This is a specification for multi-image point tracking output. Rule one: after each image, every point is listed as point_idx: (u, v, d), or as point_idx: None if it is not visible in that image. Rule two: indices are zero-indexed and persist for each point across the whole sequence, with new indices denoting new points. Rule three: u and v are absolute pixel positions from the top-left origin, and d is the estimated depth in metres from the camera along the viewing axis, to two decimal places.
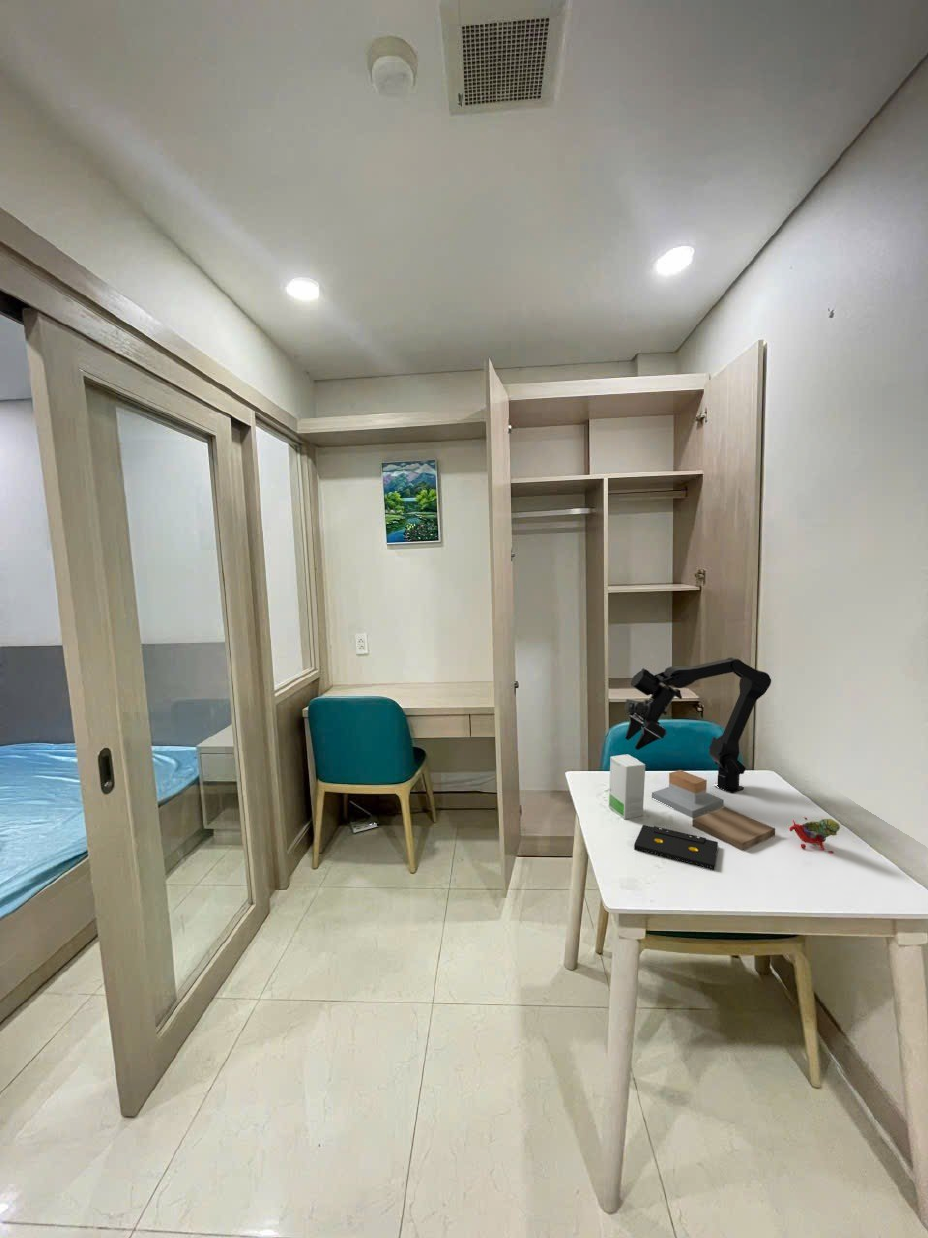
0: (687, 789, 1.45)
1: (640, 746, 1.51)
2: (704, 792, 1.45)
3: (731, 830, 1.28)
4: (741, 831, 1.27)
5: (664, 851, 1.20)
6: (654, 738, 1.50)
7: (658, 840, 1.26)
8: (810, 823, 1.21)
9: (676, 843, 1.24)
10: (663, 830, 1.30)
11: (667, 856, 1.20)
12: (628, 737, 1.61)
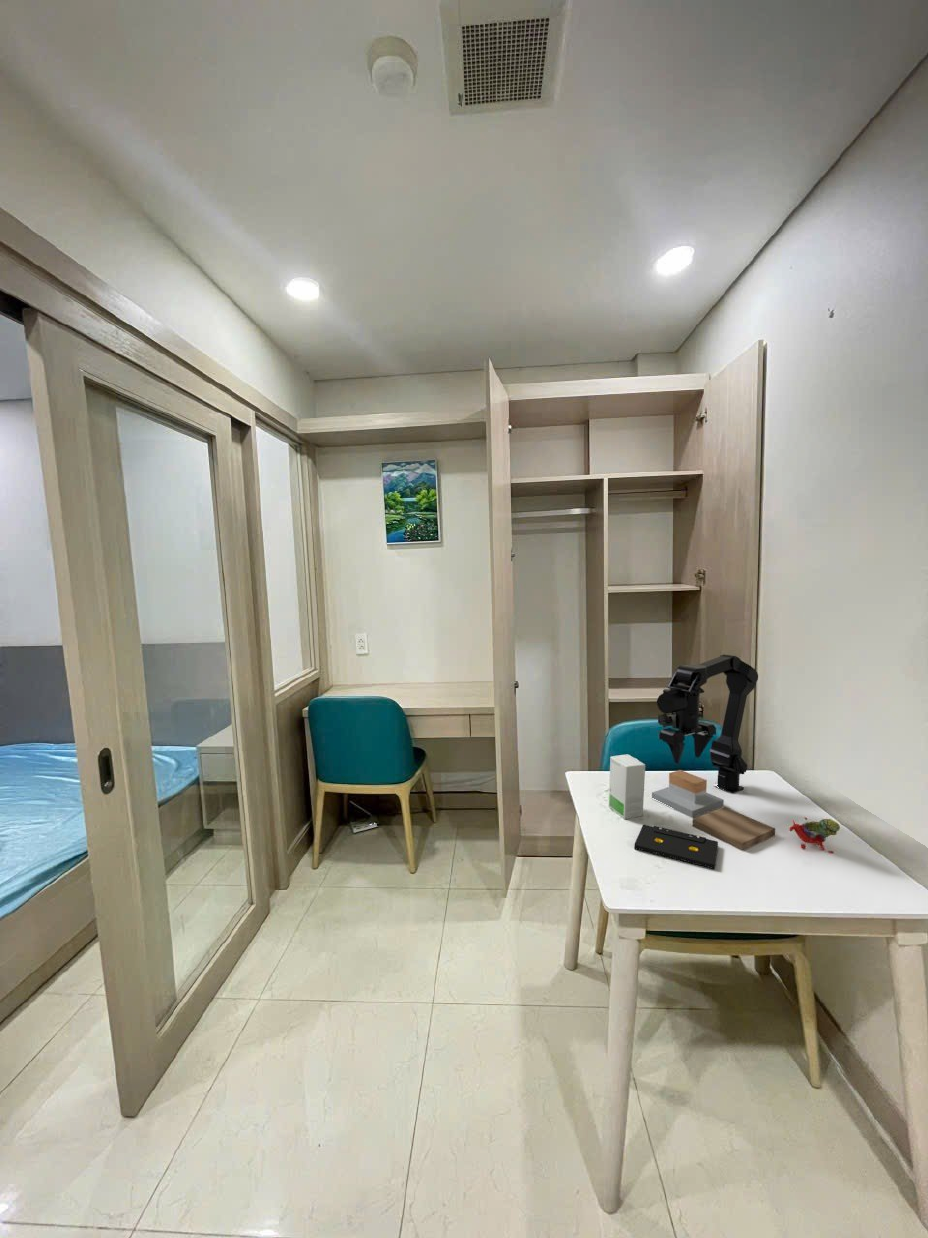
0: (687, 789, 1.45)
1: (676, 759, 1.45)
2: (704, 792, 1.45)
3: (731, 830, 1.28)
4: (741, 831, 1.27)
5: (665, 851, 1.20)
6: (678, 746, 1.42)
7: (658, 840, 1.26)
8: (810, 823, 1.21)
9: (676, 843, 1.24)
10: (663, 830, 1.30)
11: (667, 856, 1.20)
12: (697, 754, 1.49)
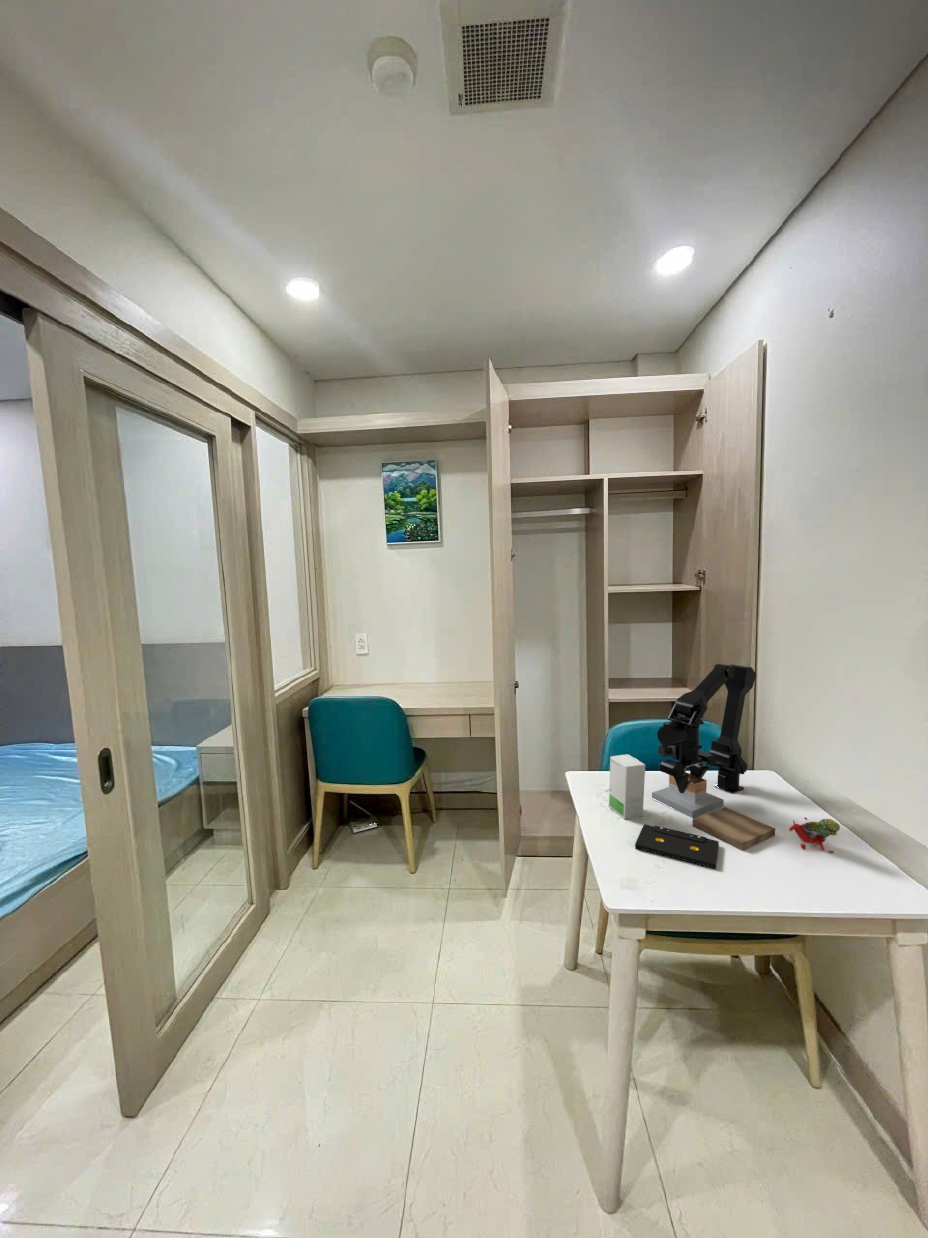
0: (687, 789, 1.45)
1: (681, 789, 1.46)
2: (704, 792, 1.45)
3: (731, 830, 1.28)
4: (741, 831, 1.27)
5: (665, 850, 1.21)
6: (682, 777, 1.44)
7: (659, 839, 1.26)
8: (810, 823, 1.21)
9: (677, 842, 1.24)
10: (664, 829, 1.30)
11: (668, 855, 1.20)
12: None
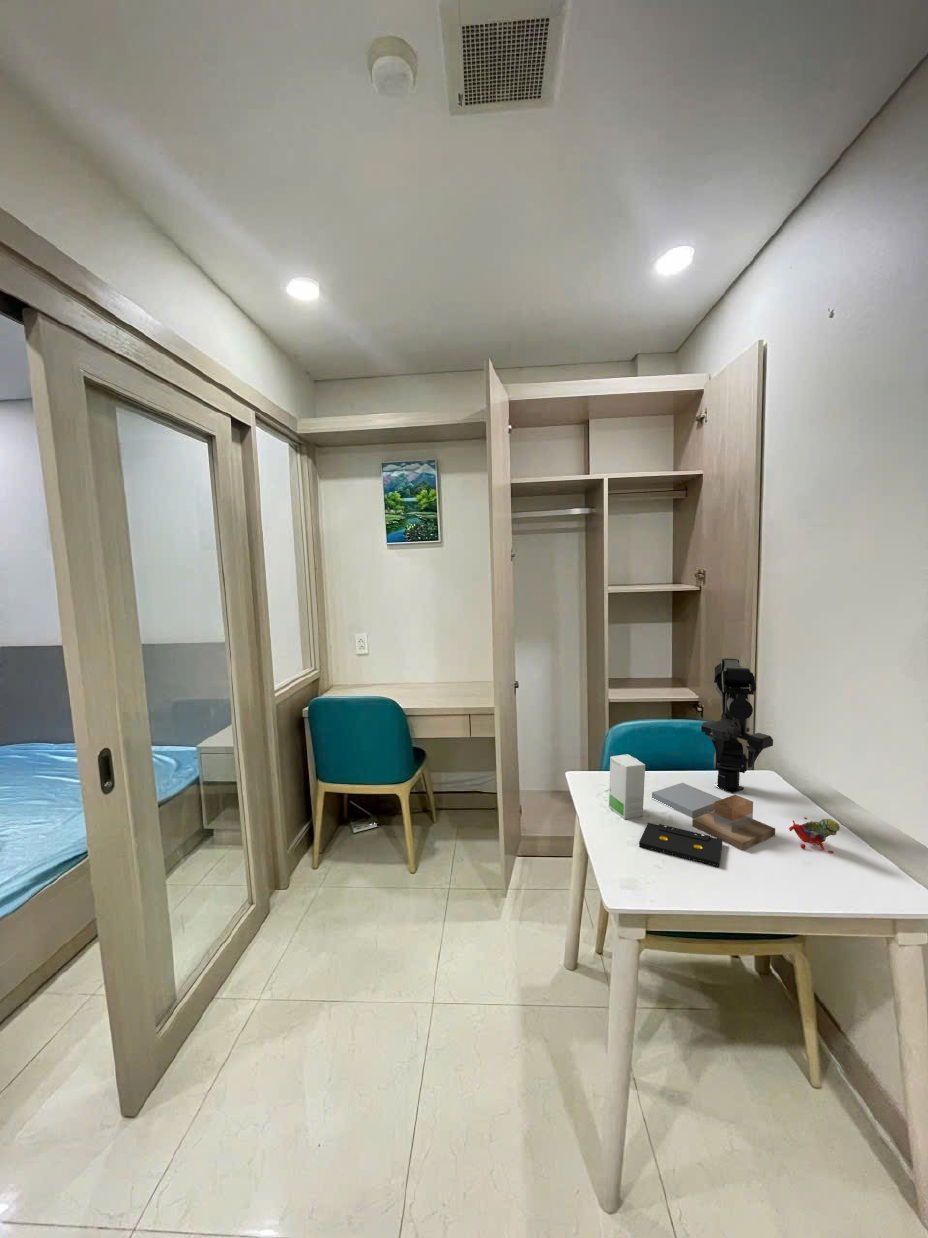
0: (746, 813, 1.30)
1: (752, 763, 1.41)
2: None
3: None
4: (741, 831, 1.27)
5: (669, 849, 1.21)
6: None
7: (663, 838, 1.27)
8: (810, 823, 1.21)
9: (681, 841, 1.25)
10: (668, 828, 1.31)
11: (672, 853, 1.21)
12: (720, 754, 1.49)
